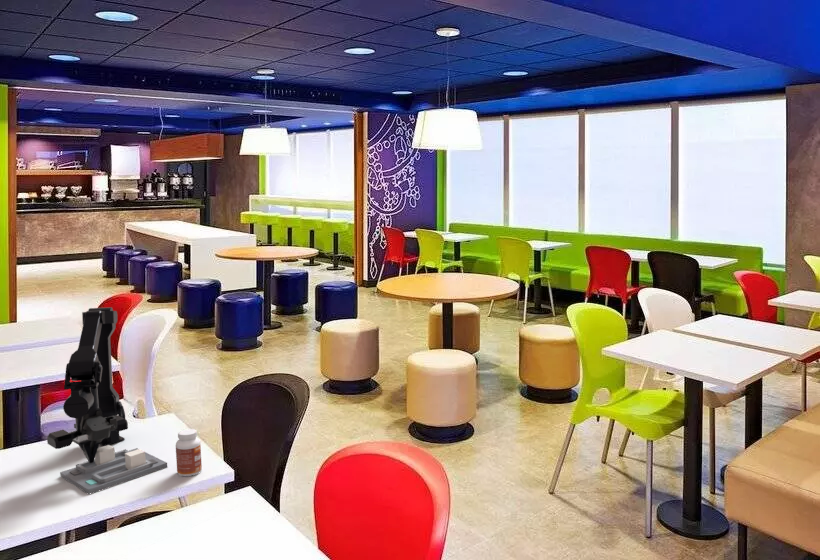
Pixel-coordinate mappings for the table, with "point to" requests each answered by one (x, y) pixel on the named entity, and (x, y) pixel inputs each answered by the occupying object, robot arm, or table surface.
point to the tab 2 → (135, 458)
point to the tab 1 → (104, 454)
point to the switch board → (109, 472)
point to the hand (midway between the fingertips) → (91, 462)
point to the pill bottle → (188, 453)
